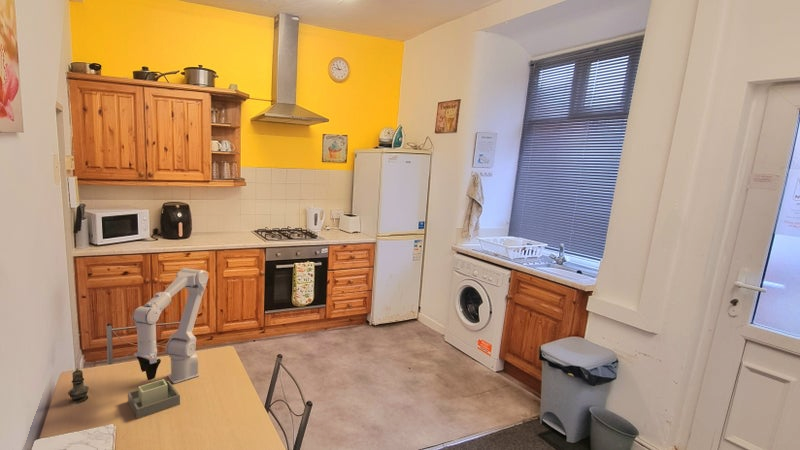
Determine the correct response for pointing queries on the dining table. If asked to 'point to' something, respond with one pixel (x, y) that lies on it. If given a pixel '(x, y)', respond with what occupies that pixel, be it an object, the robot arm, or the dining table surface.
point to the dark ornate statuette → (78, 388)
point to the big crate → (154, 407)
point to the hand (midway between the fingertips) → (148, 374)
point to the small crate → (153, 392)
